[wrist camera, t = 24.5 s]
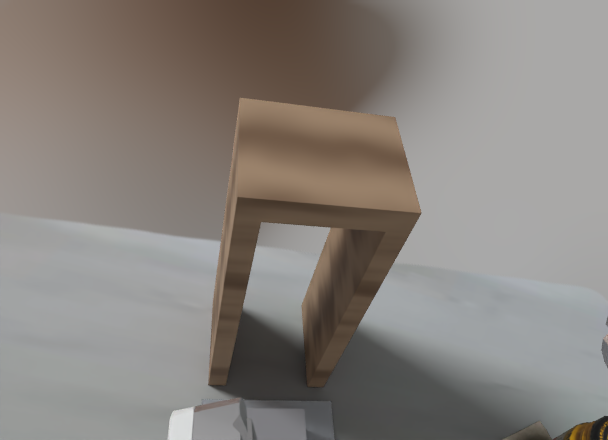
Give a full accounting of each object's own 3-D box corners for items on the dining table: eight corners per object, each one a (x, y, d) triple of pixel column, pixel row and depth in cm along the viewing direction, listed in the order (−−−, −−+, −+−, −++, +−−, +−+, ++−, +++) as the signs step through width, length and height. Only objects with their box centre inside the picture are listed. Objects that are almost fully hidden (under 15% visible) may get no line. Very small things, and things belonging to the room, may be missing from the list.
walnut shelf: (323, 387, 51) (421, 212, 31) (208, 385, 48) (237, 196, 29) (316, 306, 56) (395, 117, 37) (213, 301, 54) (239, 97, 35)
